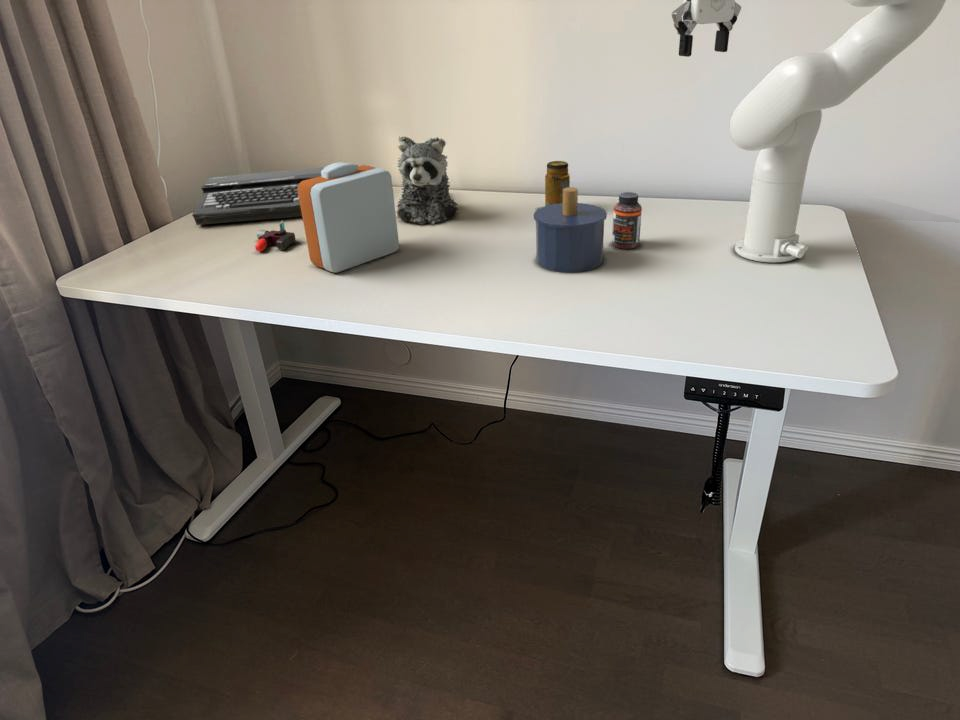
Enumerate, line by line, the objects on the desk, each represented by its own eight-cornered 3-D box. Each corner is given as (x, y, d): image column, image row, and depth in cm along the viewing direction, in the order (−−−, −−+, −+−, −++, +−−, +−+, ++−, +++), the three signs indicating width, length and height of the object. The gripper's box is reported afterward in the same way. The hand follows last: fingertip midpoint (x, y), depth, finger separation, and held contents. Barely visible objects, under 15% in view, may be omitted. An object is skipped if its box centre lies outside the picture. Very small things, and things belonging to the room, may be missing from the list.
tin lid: (621, 221, 139) (623, 191, 136) (559, 236, 133) (559, 204, 130) (579, 204, 151) (580, 175, 148) (520, 216, 145) (519, 187, 142)
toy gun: (262, 237, 170) (258, 217, 168) (302, 241, 165) (298, 222, 163) (235, 250, 162) (230, 230, 160) (276, 256, 158) (271, 235, 155)
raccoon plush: (403, 233, 167) (393, 143, 156) (387, 198, 194) (378, 120, 183) (464, 225, 169) (459, 137, 159) (441, 192, 196) (434, 114, 186)
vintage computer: (194, 228, 177) (186, 197, 173) (214, 200, 202) (208, 172, 199) (362, 215, 182) (358, 184, 179) (362, 189, 208) (358, 161, 204)
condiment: (566, 205, 180) (566, 158, 174) (577, 214, 172) (577, 166, 167) (539, 208, 179) (538, 161, 173) (548, 218, 171) (548, 169, 165)
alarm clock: (377, 242, 162) (366, 153, 152) (401, 250, 156) (390, 158, 146) (309, 266, 151) (292, 171, 141) (332, 275, 145) (316, 177, 135)
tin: (615, 263, 143) (617, 218, 139) (559, 277, 138) (560, 231, 134) (578, 244, 154) (578, 202, 150) (525, 257, 149) (524, 214, 144)
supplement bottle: (609, 249, 151) (612, 197, 145) (613, 239, 156) (615, 189, 150) (637, 250, 149) (641, 198, 143) (640, 241, 154) (644, 190, 148)
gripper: (691, -39, 131) (682, 59, 139) (759, -44, 137) (747, 51, 145) (664, -38, 137) (658, 56, 145) (731, -42, 143) (721, 48, 151)
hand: (702, 53), depth 145 cm, fingers open, 9 cm apart
